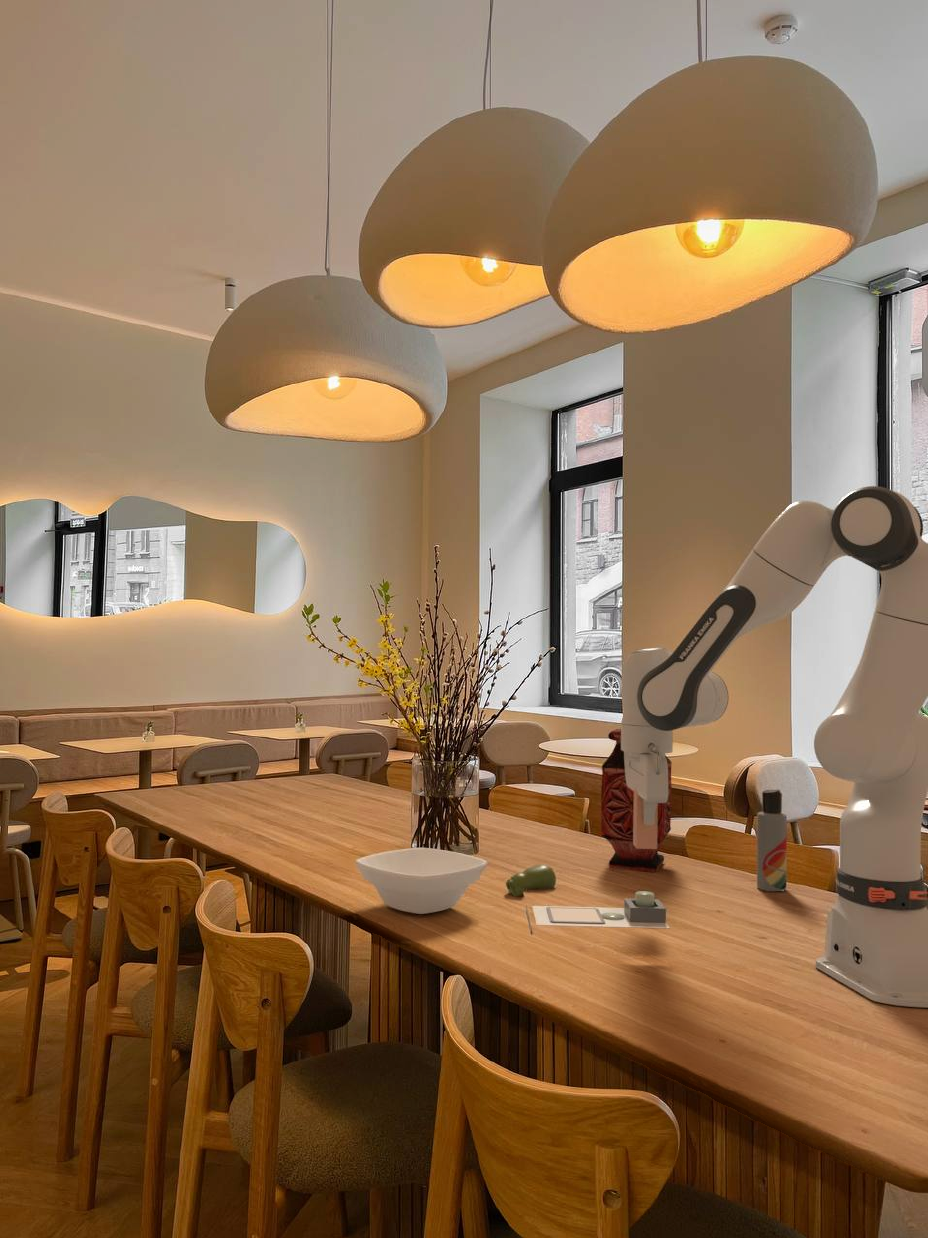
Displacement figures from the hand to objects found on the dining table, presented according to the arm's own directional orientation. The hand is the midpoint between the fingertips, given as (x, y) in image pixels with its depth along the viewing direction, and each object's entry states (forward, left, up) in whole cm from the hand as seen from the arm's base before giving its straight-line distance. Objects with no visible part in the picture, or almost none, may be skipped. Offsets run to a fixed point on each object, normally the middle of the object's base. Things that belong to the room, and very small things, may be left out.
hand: (645, 821), depth 158 cm
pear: (+20, +18, -18) cm, 33 cm away
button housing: (0, 0, -16) cm, 16 cm away
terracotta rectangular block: (0, 0, -4) cm, 4 cm away
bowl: (+7, +39, -18) cm, 43 cm away
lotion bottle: (+28, -31, -18) cm, 45 cm away
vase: (+47, -7, -18) cm, 51 cm away
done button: (0, 0, -15) cm, 15 cm away
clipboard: (0, +8, -18) cm, 19 cm away
